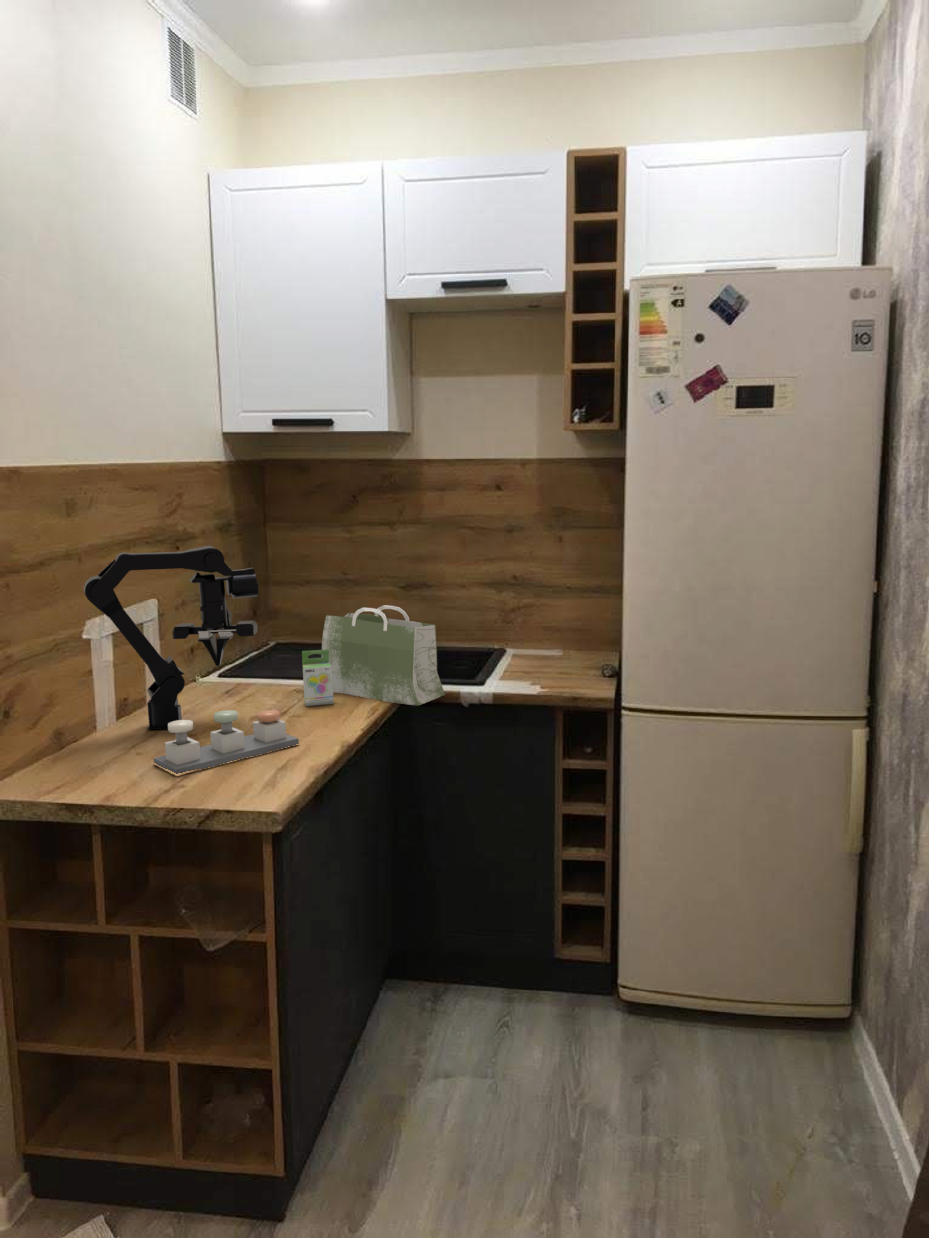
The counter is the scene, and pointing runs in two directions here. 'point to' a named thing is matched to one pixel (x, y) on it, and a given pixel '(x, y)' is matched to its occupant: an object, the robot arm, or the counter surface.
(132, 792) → the counter surface
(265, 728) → the console
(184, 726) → the cream button
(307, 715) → the counter surface
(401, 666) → the grocery bag
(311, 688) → the ink box
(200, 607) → the robot arm
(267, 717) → the terracotta button
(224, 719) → the sage button
